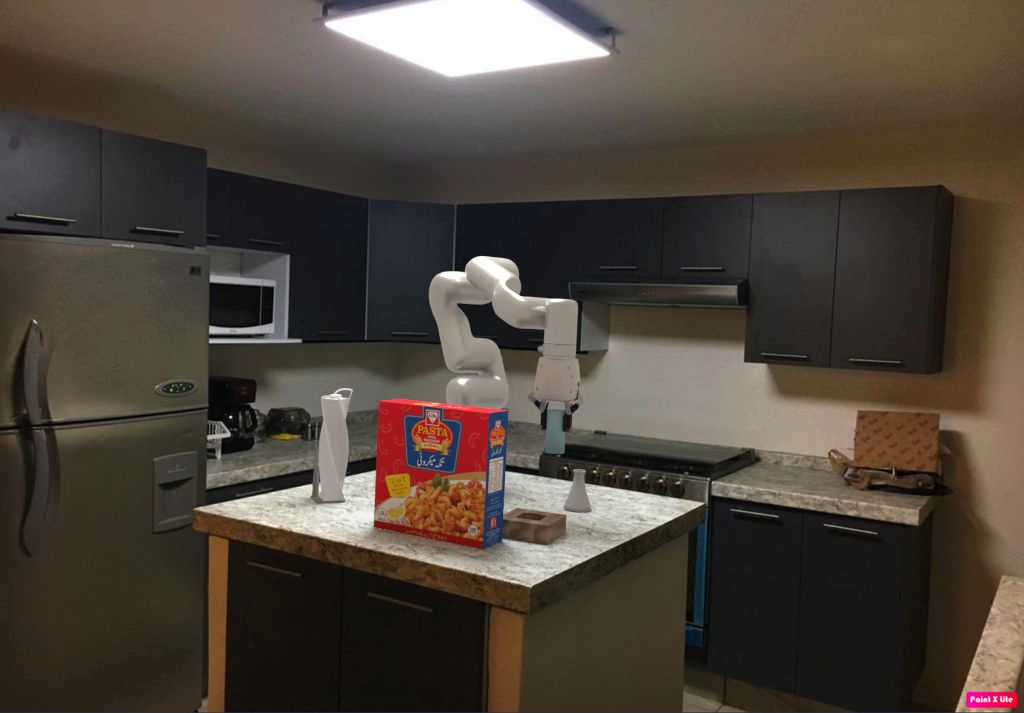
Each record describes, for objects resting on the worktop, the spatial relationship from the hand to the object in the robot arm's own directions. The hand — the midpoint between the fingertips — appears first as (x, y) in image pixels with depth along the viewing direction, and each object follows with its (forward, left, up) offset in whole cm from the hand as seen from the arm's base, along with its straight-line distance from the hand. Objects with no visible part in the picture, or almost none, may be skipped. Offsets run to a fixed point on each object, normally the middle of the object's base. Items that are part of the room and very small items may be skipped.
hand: (555, 429), depth 197 cm
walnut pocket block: (0, -13, -22) cm, 25 cm away
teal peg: (0, 0, -5) cm, 5 cm away
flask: (+1, +17, -22) cm, 28 cm away
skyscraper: (-55, -9, -22) cm, 60 cm away
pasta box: (-18, -24, -22) cm, 37 cm away
